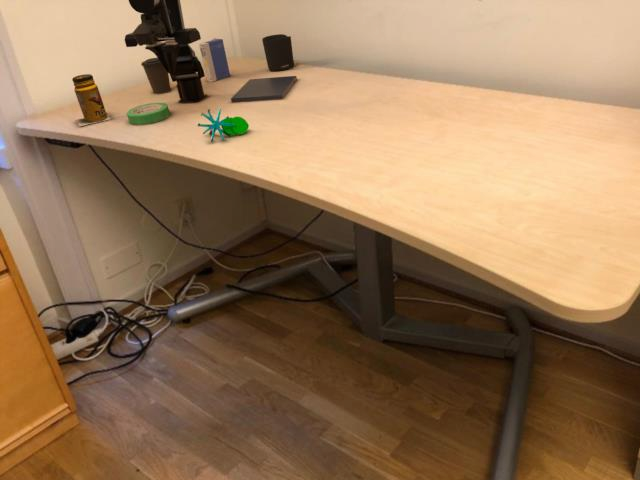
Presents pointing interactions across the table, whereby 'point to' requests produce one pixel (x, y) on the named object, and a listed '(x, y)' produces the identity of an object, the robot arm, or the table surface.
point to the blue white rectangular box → (214, 59)
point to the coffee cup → (156, 75)
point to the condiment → (89, 100)
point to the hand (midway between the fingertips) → (171, 72)
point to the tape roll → (148, 113)
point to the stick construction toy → (225, 125)
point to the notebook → (264, 89)
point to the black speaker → (278, 52)
